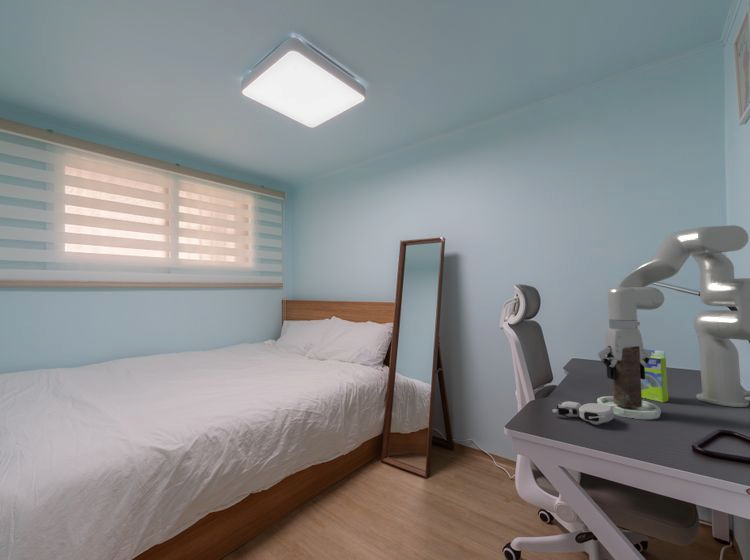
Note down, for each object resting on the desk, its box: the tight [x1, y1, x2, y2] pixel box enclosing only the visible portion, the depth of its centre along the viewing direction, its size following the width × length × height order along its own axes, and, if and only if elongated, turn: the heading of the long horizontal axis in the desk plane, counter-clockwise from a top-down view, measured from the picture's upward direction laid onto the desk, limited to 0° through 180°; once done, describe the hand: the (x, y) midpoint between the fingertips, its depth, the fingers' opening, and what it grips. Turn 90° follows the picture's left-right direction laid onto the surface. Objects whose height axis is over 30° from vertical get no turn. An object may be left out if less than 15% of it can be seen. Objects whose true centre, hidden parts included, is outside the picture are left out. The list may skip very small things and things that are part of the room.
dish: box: [596, 395, 662, 421], centre depth 107 cm, size 16×16×2 cm
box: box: [641, 349, 669, 403], centre depth 121 cm, size 10×4×17 cm, turn 28°
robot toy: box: [551, 400, 616, 426], centre depth 101 cm, size 12×4×15 cm
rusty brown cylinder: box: [612, 346, 643, 408], centre depth 108 cm, size 8×7×20 cm
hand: (626, 378), depth 108 cm, fingers open, 9 cm apart
